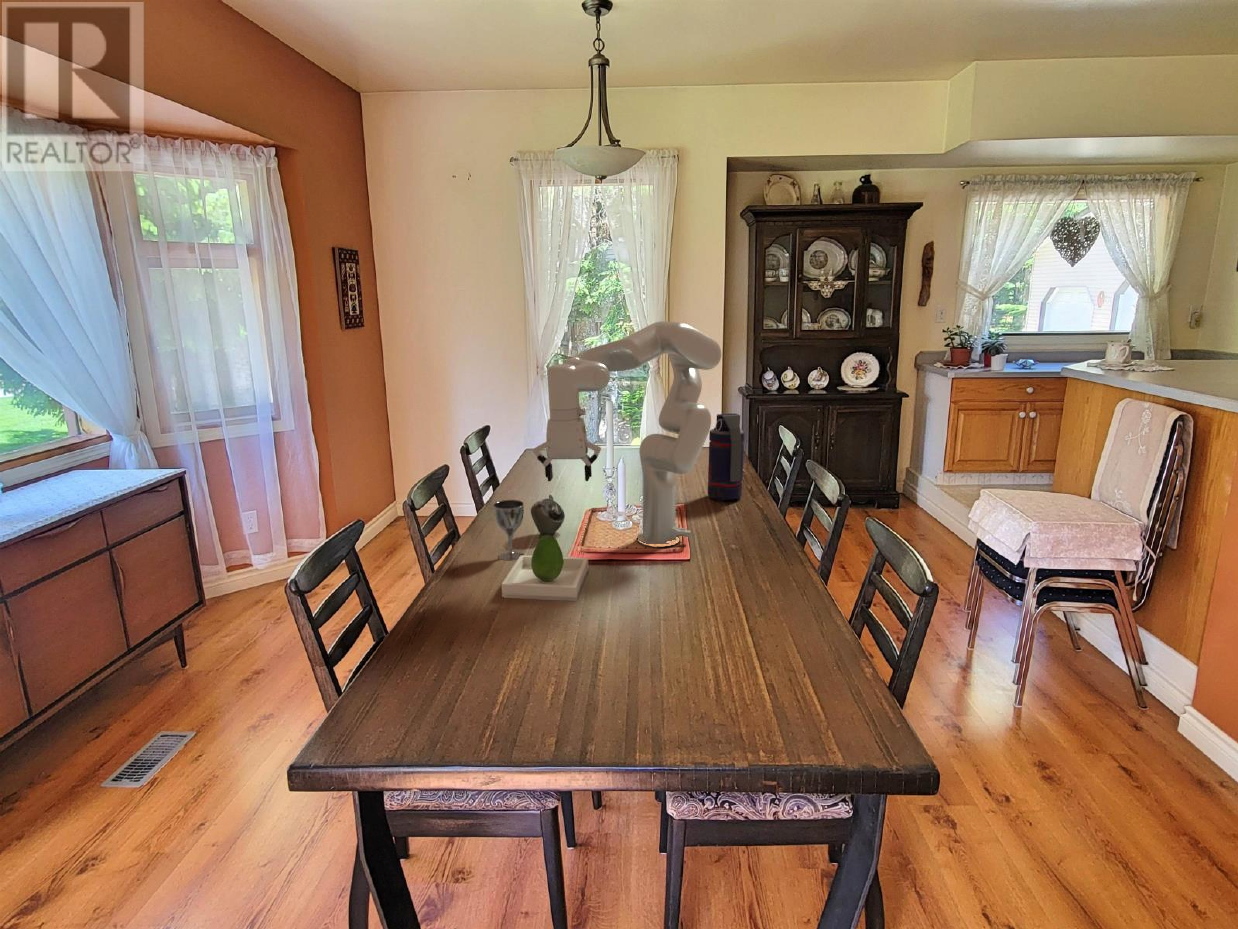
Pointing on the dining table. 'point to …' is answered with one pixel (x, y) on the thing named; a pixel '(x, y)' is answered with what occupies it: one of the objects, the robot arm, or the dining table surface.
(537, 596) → the tray
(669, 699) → the dining table surface
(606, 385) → the robot arm
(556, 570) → the avocado
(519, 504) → the wine glass
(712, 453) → the grenade
